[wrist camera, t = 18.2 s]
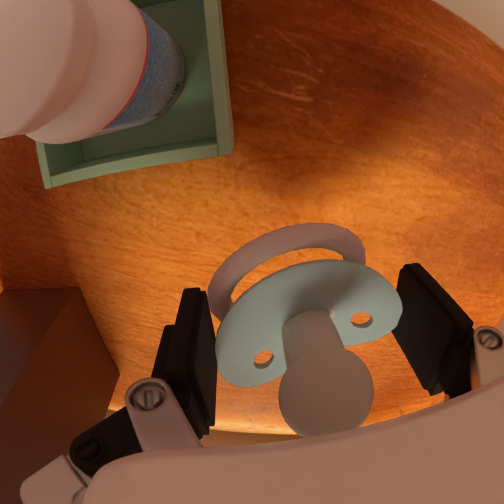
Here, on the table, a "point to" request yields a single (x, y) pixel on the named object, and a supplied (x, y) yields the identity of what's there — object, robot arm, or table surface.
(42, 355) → the blue bin
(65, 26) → the pill bottle
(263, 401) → the table surface
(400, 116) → the table surface
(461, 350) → the robot arm
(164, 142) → the green bin
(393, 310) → the pacifier
